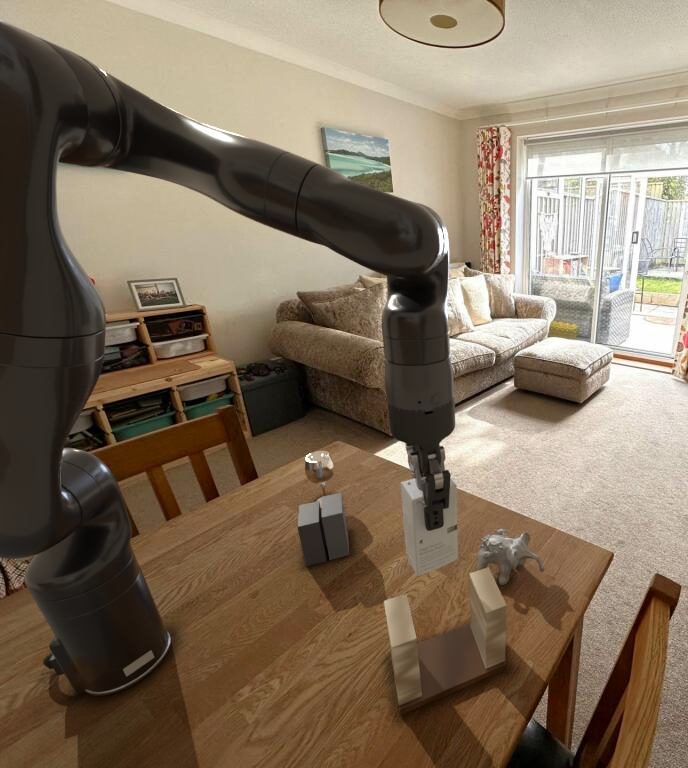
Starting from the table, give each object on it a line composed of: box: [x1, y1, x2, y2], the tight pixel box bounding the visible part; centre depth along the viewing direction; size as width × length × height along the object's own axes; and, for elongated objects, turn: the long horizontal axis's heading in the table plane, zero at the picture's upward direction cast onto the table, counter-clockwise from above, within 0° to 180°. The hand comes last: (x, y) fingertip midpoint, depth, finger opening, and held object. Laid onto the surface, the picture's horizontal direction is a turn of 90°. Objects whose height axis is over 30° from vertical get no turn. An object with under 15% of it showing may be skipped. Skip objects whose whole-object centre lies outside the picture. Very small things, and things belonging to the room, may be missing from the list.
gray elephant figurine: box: [476, 528, 545, 586], centre depth 73 cm, size 9×12×8 cm
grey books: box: [296, 492, 350, 567], centre depth 76 cm, size 8×6×10 cm
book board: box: [383, 567, 508, 716], centre depth 56 cm, size 15×8×12 cm, turn 114°
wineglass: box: [304, 450, 335, 509], centre depth 89 cm, size 6×6×12 cm
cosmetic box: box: [400, 477, 459, 577], centre depth 52 cm, size 6×4×12 cm
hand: (429, 514), depth 52 cm, fingers closed on cosmetic box, 4 cm apart
